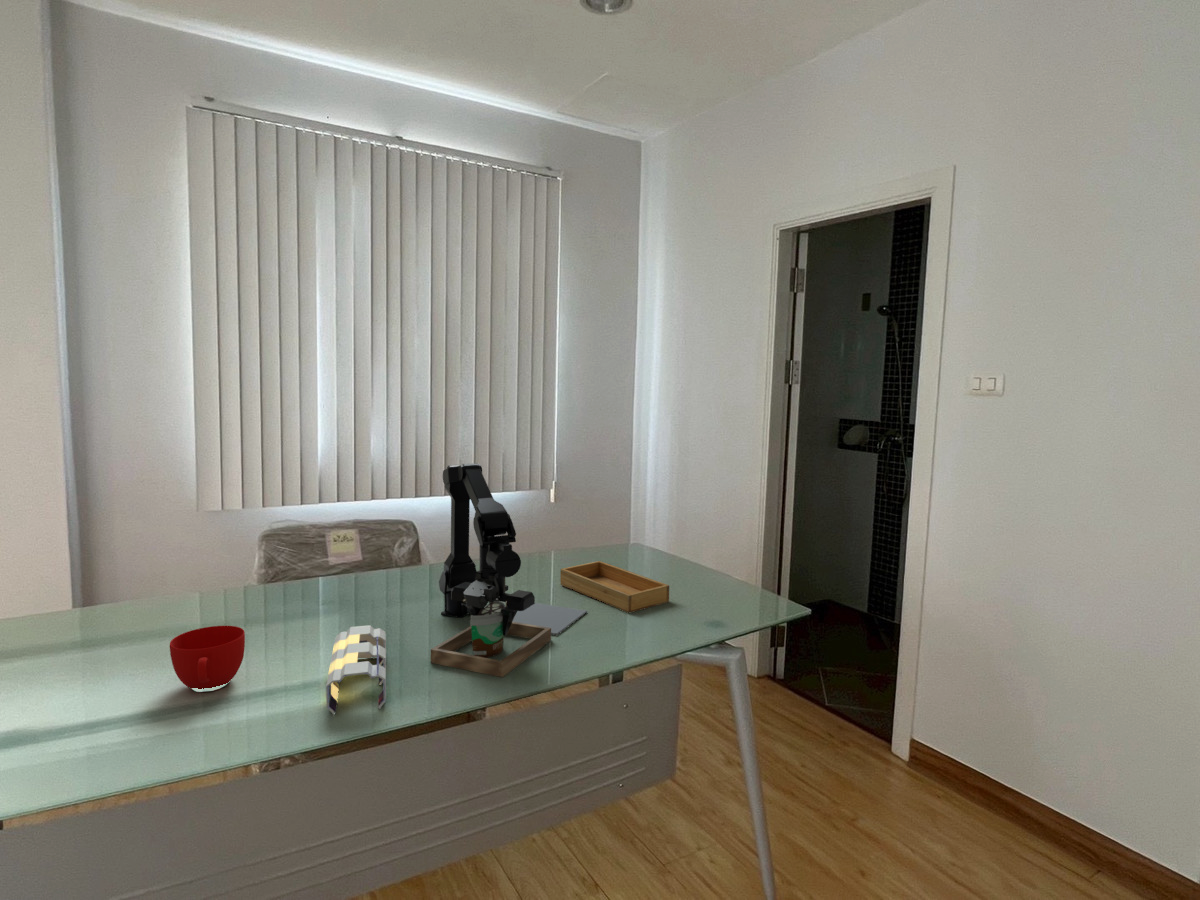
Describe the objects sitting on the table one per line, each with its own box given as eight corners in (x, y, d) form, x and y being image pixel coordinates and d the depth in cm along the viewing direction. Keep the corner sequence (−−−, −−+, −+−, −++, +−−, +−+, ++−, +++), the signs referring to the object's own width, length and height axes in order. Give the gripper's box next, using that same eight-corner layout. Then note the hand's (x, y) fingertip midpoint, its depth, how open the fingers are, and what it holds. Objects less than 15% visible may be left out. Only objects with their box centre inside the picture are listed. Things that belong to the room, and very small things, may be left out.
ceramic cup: (162, 715, 124) (159, 662, 123) (178, 677, 139) (175, 630, 138) (242, 702, 129) (240, 651, 128) (249, 667, 145) (247, 621, 144)
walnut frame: (430, 662, 148) (430, 649, 147) (485, 629, 168) (485, 617, 168) (502, 677, 141) (502, 663, 140) (551, 640, 161) (551, 628, 161)
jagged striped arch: (386, 710, 127) (384, 642, 126) (327, 717, 124) (324, 648, 123) (386, 658, 151) (384, 600, 150) (336, 663, 148) (334, 604, 146)
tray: (669, 603, 189) (669, 583, 189) (628, 615, 180) (628, 594, 179) (599, 578, 213) (599, 560, 213) (560, 587, 204) (560, 568, 203)
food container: (497, 663, 148) (496, 618, 147) (470, 660, 149) (469, 616, 148) (515, 642, 160) (515, 600, 159) (490, 639, 161) (490, 598, 160)
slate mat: (492, 625, 171) (492, 622, 170) (527, 603, 187) (527, 601, 187) (556, 635, 164) (556, 633, 164) (587, 612, 180) (587, 610, 180)
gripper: (435, 569, 148) (436, 638, 150) (510, 580, 141) (510, 652, 143) (465, 557, 159) (465, 622, 160) (535, 567, 152) (535, 634, 153)
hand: (492, 632), depth 154 cm, fingers closed on food container, 6 cm apart
